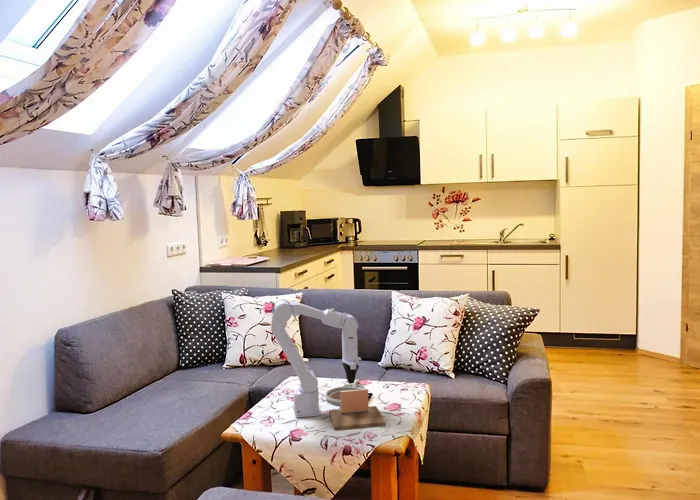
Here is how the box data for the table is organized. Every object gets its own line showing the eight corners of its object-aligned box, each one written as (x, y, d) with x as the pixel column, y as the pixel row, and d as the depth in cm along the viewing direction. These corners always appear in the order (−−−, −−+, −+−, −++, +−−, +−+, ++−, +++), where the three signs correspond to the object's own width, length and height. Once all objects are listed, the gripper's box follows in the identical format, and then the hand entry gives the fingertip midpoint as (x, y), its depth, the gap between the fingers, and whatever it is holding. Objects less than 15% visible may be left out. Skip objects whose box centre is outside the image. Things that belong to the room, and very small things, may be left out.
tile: (341, 413, 223) (341, 414, 223) (340, 391, 222) (340, 392, 221) (367, 410, 225) (368, 411, 224) (367, 389, 223) (368, 390, 222)
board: (334, 430, 212) (334, 426, 211) (328, 413, 227) (328, 410, 227) (385, 425, 214) (385, 422, 214) (376, 409, 230) (376, 405, 230)
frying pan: (377, 379, 259) (361, 401, 232) (377, 386, 259) (361, 408, 232) (338, 377, 263) (319, 398, 236) (338, 383, 263) (319, 405, 236)
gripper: (363, 351, 222) (364, 387, 223) (357, 341, 236) (358, 375, 237) (344, 353, 220) (345, 389, 222) (339, 342, 235) (340, 377, 236)
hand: (350, 382), depth 230 cm, fingers closed
